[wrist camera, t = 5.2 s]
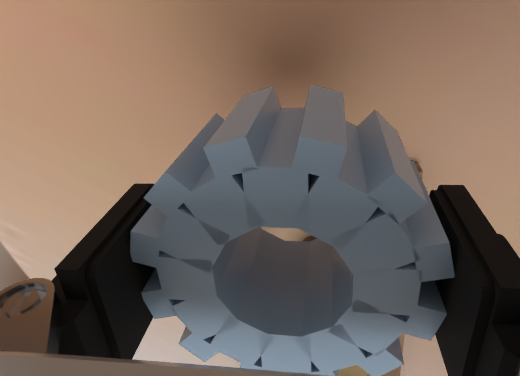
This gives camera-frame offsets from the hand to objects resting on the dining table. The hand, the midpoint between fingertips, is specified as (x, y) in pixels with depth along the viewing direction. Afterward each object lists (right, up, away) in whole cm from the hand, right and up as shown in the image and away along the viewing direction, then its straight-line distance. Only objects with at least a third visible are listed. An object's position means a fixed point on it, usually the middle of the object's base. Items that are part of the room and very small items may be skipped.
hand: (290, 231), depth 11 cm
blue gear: (0, +1, +1) cm, 2 cm away
